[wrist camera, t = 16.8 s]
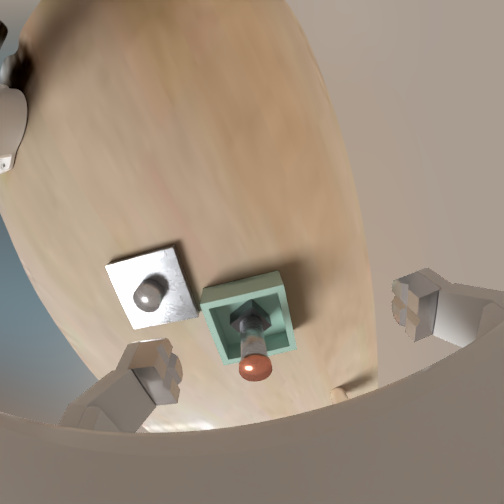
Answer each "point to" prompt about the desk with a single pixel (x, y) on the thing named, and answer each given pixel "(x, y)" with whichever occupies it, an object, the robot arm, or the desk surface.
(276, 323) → the bin
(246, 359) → the strut
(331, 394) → the milkshake
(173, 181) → the desk surface
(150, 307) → the stud mount
